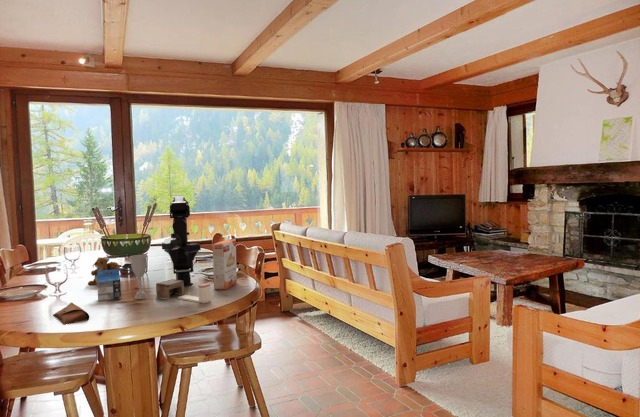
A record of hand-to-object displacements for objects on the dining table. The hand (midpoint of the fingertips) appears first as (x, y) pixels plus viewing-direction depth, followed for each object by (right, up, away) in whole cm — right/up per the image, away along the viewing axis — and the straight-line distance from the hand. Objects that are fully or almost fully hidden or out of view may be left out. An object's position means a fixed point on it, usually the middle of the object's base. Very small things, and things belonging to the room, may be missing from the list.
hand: (181, 266), depth 196 cm
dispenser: (-5, -13, -1) cm, 14 cm away
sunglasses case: (-33, -16, -28) cm, 46 cm away
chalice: (-17, -13, -2) cm, 22 cm away
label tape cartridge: (-30, -14, -3) cm, 33 cm away
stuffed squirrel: (-47, -12, +28) cm, 56 cm away
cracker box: (+16, -11, +14) cm, 24 cm away
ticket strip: (+8, -13, -9) cm, 17 cm away
